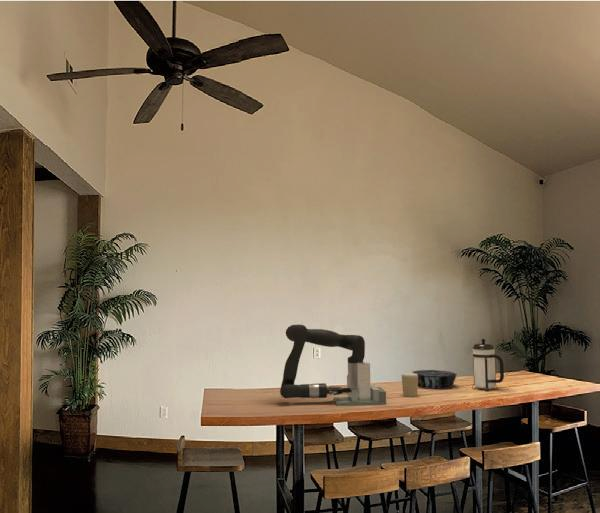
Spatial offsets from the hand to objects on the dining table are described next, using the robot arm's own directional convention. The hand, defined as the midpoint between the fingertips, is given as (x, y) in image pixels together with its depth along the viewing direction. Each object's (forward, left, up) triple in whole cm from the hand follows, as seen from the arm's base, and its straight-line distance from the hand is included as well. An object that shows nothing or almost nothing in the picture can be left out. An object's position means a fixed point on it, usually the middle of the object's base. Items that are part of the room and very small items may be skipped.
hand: (349, 390), depth 278 cm
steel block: (+4, +7, -5) cm, 9 cm away
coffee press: (+20, +89, -7) cm, 91 cm away
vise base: (+2, +4, -6) cm, 8 cm away
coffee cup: (+6, +39, -7) cm, 40 cm away
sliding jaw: (+1, +1, -5) cm, 5 cm away
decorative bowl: (-7, +73, -7) cm, 74 cm away
